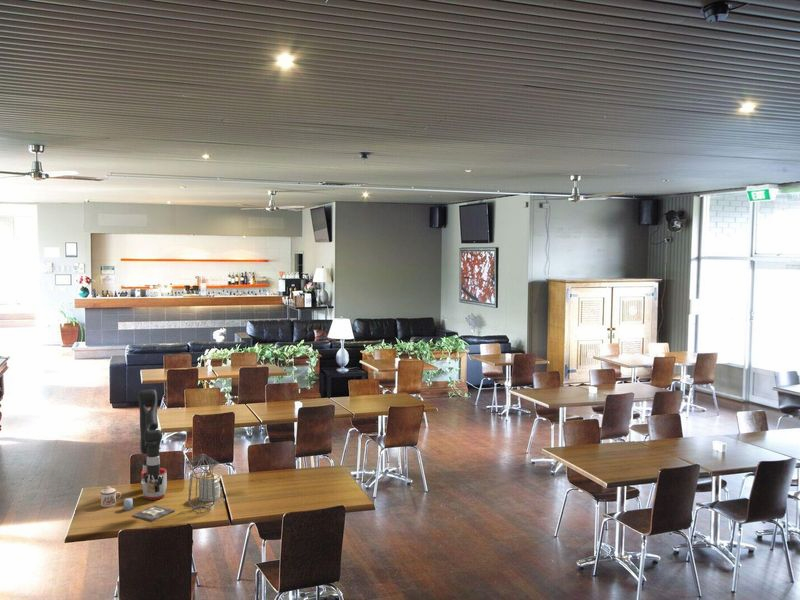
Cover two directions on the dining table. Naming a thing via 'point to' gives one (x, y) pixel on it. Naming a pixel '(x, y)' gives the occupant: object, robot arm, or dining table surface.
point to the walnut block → (151, 487)
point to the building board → (153, 513)
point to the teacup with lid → (109, 497)
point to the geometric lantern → (201, 478)
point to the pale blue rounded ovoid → (128, 504)
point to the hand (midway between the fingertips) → (153, 490)
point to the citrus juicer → (162, 486)
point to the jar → (209, 486)
